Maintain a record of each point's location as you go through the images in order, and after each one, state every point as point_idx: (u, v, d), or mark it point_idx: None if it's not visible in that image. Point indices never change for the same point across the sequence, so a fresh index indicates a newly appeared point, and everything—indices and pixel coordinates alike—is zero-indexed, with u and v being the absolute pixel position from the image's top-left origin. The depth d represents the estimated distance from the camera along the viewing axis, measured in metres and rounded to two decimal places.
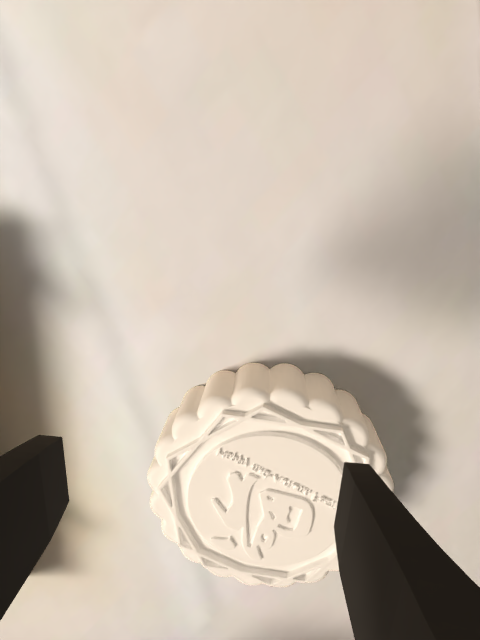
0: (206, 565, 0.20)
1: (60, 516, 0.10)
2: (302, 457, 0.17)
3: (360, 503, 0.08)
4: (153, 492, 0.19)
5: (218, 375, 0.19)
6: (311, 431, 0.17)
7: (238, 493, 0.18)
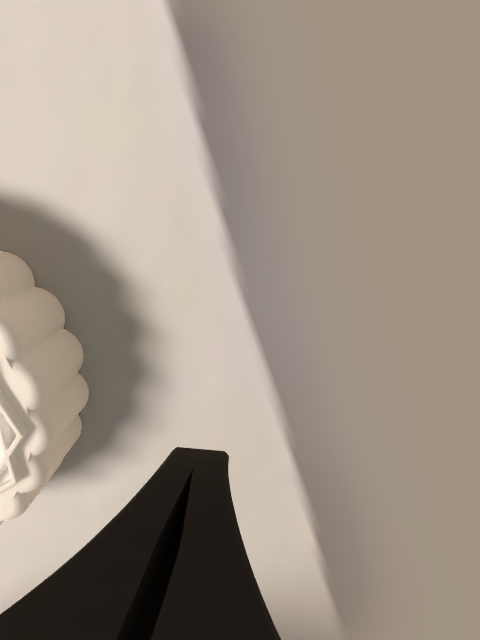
0: None
1: None
2: None
3: None
4: None
5: None
6: None
7: None
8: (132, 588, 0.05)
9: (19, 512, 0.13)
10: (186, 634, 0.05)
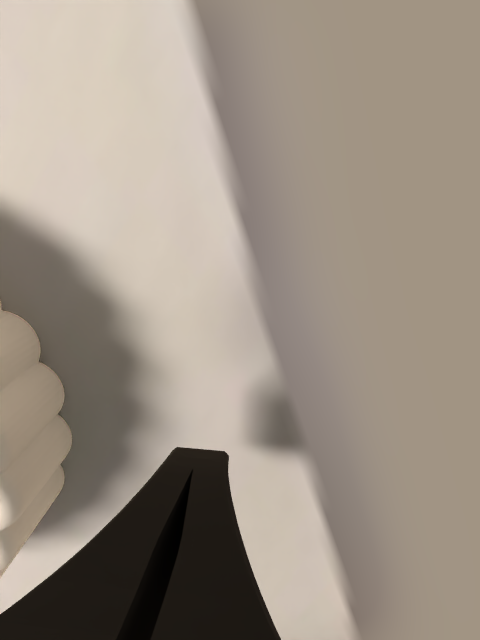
0: None
1: None
2: None
3: None
4: None
5: None
6: None
7: None
8: (132, 588, 0.05)
9: None
10: (186, 634, 0.05)
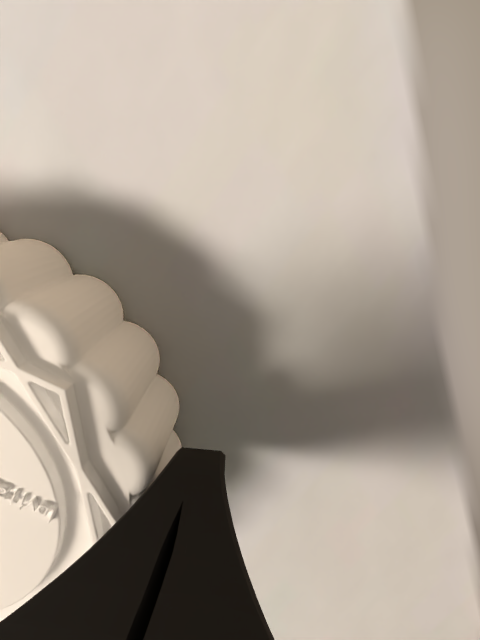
0: None
1: None
2: None
3: None
4: None
5: None
6: None
7: None
8: (140, 589, 0.05)
9: None
10: (179, 633, 0.05)
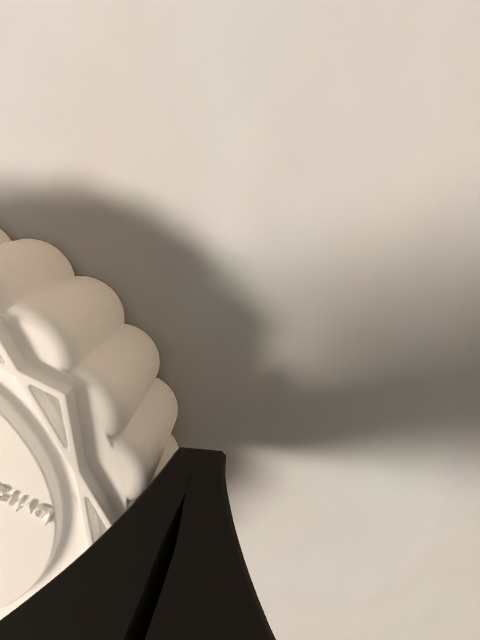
0: None
1: None
2: None
3: None
4: None
5: None
6: None
7: None
8: (138, 589, 0.05)
9: None
10: (180, 634, 0.05)
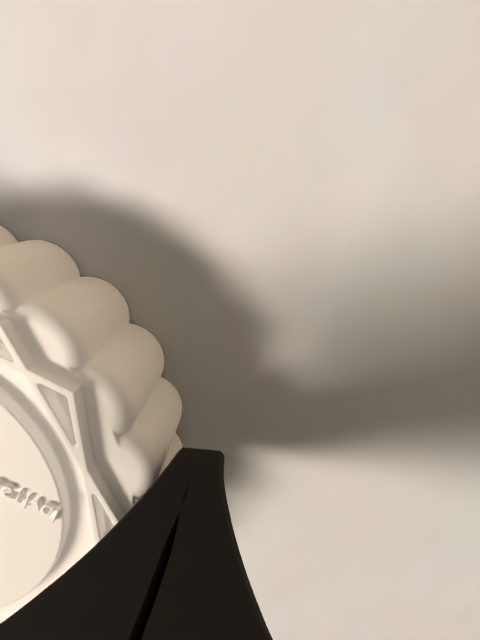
0: None
1: None
2: None
3: None
4: None
5: None
6: None
7: None
8: (142, 589, 0.05)
9: None
10: (177, 633, 0.05)
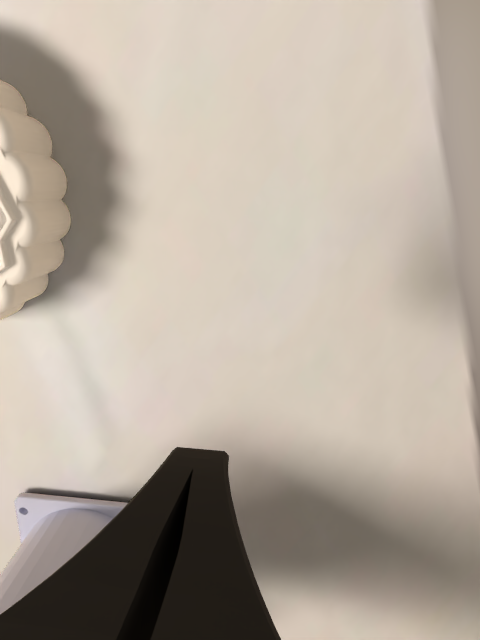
0: None
1: None
2: None
3: None
4: None
5: None
6: None
7: None
8: (132, 588, 0.05)
9: (7, 303, 0.16)
10: (186, 634, 0.05)
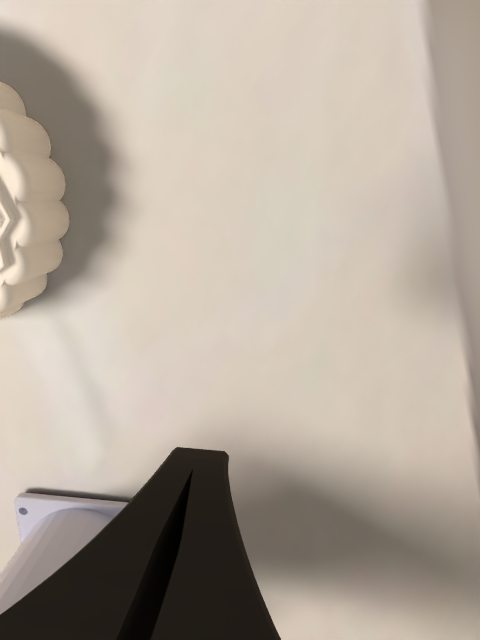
0: None
1: None
2: None
3: None
4: None
5: None
6: None
7: None
8: (132, 588, 0.05)
9: (5, 303, 0.16)
10: (186, 634, 0.05)
